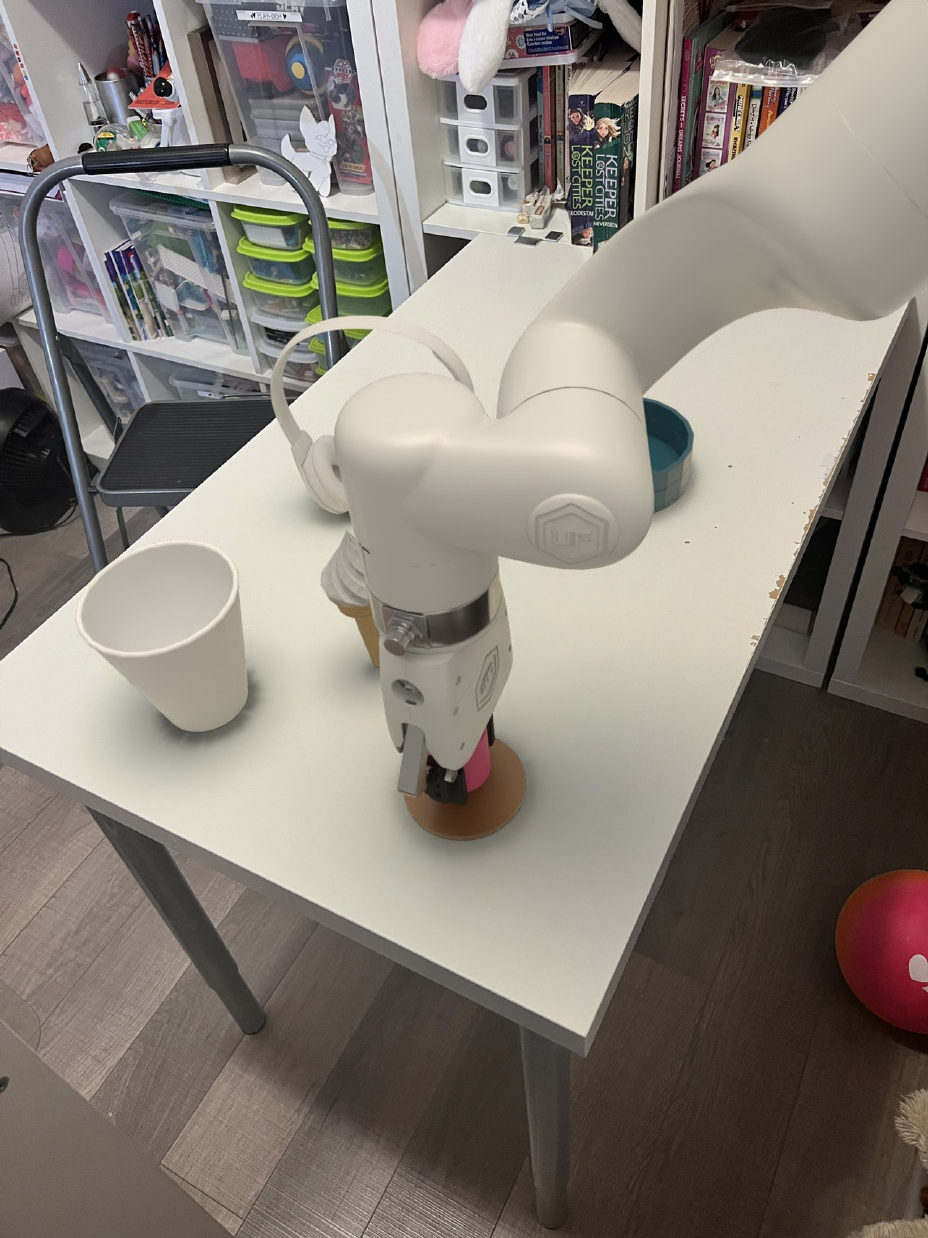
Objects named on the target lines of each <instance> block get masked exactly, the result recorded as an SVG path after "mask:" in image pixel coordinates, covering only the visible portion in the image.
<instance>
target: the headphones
mask: <svg viewBox="0 0 928 1238" xmlns="http://www.w3.org/2000/svg"><path fill="white" fill-rule="evenodd" d="M357 329H358V330H373V331H374V330H376V331H381V332H382V331H383V332H387V333H391V334H396V335H399V336H402V337H405V338H408V339H411V340H413V341H415V342H418V343H419V344H422V345H423V346H425V347H427V348H428V349H430V350H431V351H432V355H433V356H434V357H435V358H436V359H437V360H438V361H439V362H440V363H441V364H442V365H443V366H444V367H445V368H446V369H447V371H449V373H450V374H451V376H452V377H453V379H454V380H456V381H459V382H460V383H462V384H464V385H465V386H467V387H468V388H469V389H470V390H471V391H472V392H473V393H474V394H475V388H474V384H473V380H472V378H471V375H470V373H469V370H468V369H467V367H466V365H465V363H464V362H463V360H462V359H461V357H460V356H459V355H458V354H457V352H456V351H455V350H454V349H453V348H452V347H451V346H449V344H448V343H446V342H445V341H443V340H442V339H441V338H440V337H439V336H437V335H435V334H433V333H432V332H431V331H428V330H426V329H424V328H422V327H421V326H418V325H416V324H414V323H411V322H407V321H404V320H401V319H397V318H393V317H386V316H379V315H378V316H377V315H347V316H337V317H333V318H328V319H325V320H321V321H319V322H318V321H317V322H316V323H314V324H311V325H309V326H307V327H305V328H303V329H302V330H301V331H299V332H298V333H297V334H295V335H294V336H293V337H292V338H291V339H290V340H289V341H288V342H287V343H286V344H285V346H284V348H283V349H282V350H281V352H280V353H279V355H278V357H277V360H276V361H275V364H274V367H273V369H272V373H271V376H270V384H269V385H270V386H269V387H270V389H269V390H270V391H269V392H270V400H271V406H272V408H273V412H274V415H275V418H276V421H277V423H278V424H279V426H280V428H281V430H282V432H283V434H284V436H285V437H286V439H287V441H288V442H289V444H290V450H291V454H292V457H293V461H294V463H295V465H296V468H297V470H298V473H299V475H300V477H301V479H302V482H303V484H304V486H305V488H306V489H307V491H308V493H309V495H310V496H311V498H313V500H314V501H315V502H316V503H317V504H318V505H319V506H320V507H321V508H322V509H324V510H326V512H329V513H332V514H336V515H340V514H341V515H342V514H345V513H346V512H349V509H348V504H347V500H346V496H345V491H344V487H343V482H342V478H341V473H340V469H339V465H338V460H337V455H336V449H335V443H334V435H331V434H323V435H321V436H319V437H318V438H317V439H315V441H314V442H313V438H312V437H311V435H310V434H309V433H308V432H307V431H305V430H304V429H302V430H301V428H300V426H299V424H298V423H297V421H296V419H295V417H294V416H293V414H292V412H291V410H290V407H289V404H288V401H287V398H286V395H285V389H284V372H285V368H286V364H287V361H288V360H289V358H290V357H291V356H292V354H293V353H294V351H295V348H296V346H297V345H298V344H299V343H300V342H302V341H305V340H306V339H308V338H310V337H312V336H316V335H319V334H322V333H326V332H330V331H336V330H337V331H338V330H339V331H340V330H357Z"/></svg>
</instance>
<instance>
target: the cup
mask: <svg viewBox="0 0 928 1238" xmlns="http://www.w3.org/2000/svg"><path fill="white" fill-rule="evenodd" d="M241 608H242V607H241V598H240V574H239V570H238V568H237V566H236V564H235V562H234V560H233V558H232V557H230V555H228V553H226V552H224V551H223V550H222V549H221V548H219V547H216V546H214V545H212V544H210V543H208V542H202V541H197V540H191V539H175V540H173V539H171V540H165V541H159V542H156V543H155V542H154V543H150V544H147V545H144V546H142V547H138V548H135V549H133V550H131V551H129V552H127V553H125V554H123V555H121V556H120V557H117V558H116V559H114V560H112V561H111V562H110V563H109V564H108V565H106V566H105V567H104V568H102V569H101V570H100V571H98V572H97V573H96V574H95V576H93V578H92V579H91V580H90V581H89V582H88V584H87V585H85V588H84V589H83V591H82V593H81V596H80V597H79V599H78V601H77V603H76V610H75V617H74V618H75V619H74V620H75V623H76V627H77V631H78V634H79V635H80V637H81V638H82V639H83V641H84V642H85V643H86V644H87V646H89V647H90V648H92V649H93V650H95V651H96V652H97V653H98V654H99V655H100V656H101V657H102V658H103V659H105V661H107V663H109V665H110V666H112V667H113V668H114V669H115V670H116V671H117V672H118V673H119V674H120V675H121V676H122V677H123V678H124V679H125V680H126V681H127V682H129V684H130V685H132V687H133V688H135V689H136V690H137V691H138V692H139V693H140V694H141V695H142V696H143V697H144V698H145V699H146V700H148V702H149V703H151V705H153V707H154V708H156V709H157V710H158V711H159V712H160V713H161V714H162V715H163V716H164V717H165V718H167V719H168V720H169V721H170V723H172V724H173V726H175V727H177V728H179V729H180V730H182V731H186V732H191V733H204V732H208V731H212V730H216V729H218V728H220V727H222V726H225V725H226V724H228V723H230V722H231V721H232V720H234V719H235V718H236V716H238V715H239V714H240V713H241V712H242V710H243V708H244V707H245V706H246V704H247V701H248V697H249V682H248V669H247V660H246V649H245V639H244V638H245V637H244V630H243V629H244V628H243V619H242V609H241Z"/></svg>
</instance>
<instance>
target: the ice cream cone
mask: <svg viewBox="0 0 928 1238" xmlns="http://www.w3.org/2000/svg"><path fill="white" fill-rule="evenodd" d="M320 587H321V588H322V590H323V592H324V593H325V595H326V597H327V598H328V600H329V601H330V602H331V603H333V604H334V605H336V607H337V609H338V610H339V612H340V613H341V614H343V616H346V617H348V618H352V619H354V621H355V622H356V626H357V629H358V632H359V633H360V637H361V638H362V640H363V643H364V645H365V648H366V651H367V652H368V655H369V658H370V660H371V663H372V664H373V666H374V667H376V668H377V667H379V668H380V661H379V639H380V635H381V634H380V633H379V631H378V629H377V628H376V626H375V623H374V620H373V616H372V611H371V606H370V602H369V598H368V593H367V589H366V584H365V580H364V574H363V570H362V565H361V561H360V556H359V552H358V548H357V544H356V539H355V535H354V534H352V533H351V532H349V530H347V529H346V530H345V533H344V534H343V538H342V540H341V541H340V544H339V546H338V547H337V548H336V550H335V551H334V553H333V554H332V556H331V558H330V559H329V561H328V562H327V563H326V565H325V566H324V568H323V569H322V571H321V576H320Z"/></svg>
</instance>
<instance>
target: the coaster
mask: <svg viewBox="0 0 928 1238" xmlns="http://www.w3.org/2000/svg"><path fill="white" fill-rule="evenodd" d="M489 754H490V764H491V767H490V773H489V775H488V777H487V779H486V780H485V782H484V783H483V784H482V785H481V786H479V787H478V788H476V789H474V790H472V791H470V792H467V793H468V800H467V802H466V804H465V805H464V806H462V805H458V804H455V803H452V802H449V803H448V804H443V803H440V802H437V801H434V800H433V799H431V798H430V797H429V795H427V794H426V793H425V792H423V793H422V794H421V795H419V796H418V797H417V798H415V797H412V796H408V795H405V794H403V796H404V800H405V804H406V807H407V809H408V812H409V813H410V815H411V817H412V818H413V819H414V820H415V822H416V823H417V824H418V825H419V826H420V827H422V828H423V829H424V830H426V831H427V832H429V833H431V834H433V835H434V836H437V837H440V838H443V839H446V840H452V841H471V840H476V839H481V838H484V837H488V836H489V835H492V834H494V833H496V832H497V831H499V830H501V829H502V828H504V827H505V826H506V825H507V824H509V822H511V820H512V819H513V818H514V817H515V816H516V814H517V813H518V812H519V810H520V808H521V806H522V804H523V802H524V798H525V796H526V795H525V794H526V789H527V788H526V786H527V785H526V783H527V781H526V774H525V769H524V765H523V764H522V761H521V759H520V758H519V757H518V755H517V753H516V752H515V751H514V750H513V749H512V748H511V747H510V746H509V745H508V744H506V743H505V742H504V741H502V740H500V739H499V738H497V737H495V741H494V743H493V745H492V746H490V747H489Z"/></svg>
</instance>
